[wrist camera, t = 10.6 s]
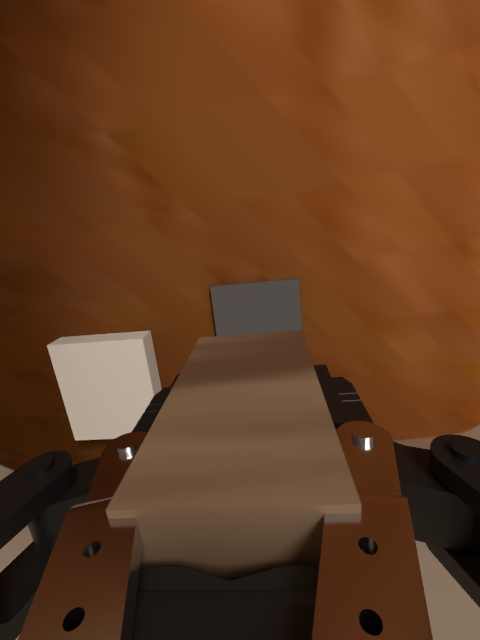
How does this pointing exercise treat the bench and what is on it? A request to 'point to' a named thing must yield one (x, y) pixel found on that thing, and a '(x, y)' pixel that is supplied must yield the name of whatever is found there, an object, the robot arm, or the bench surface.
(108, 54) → the bench surface
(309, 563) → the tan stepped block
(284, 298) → the mat
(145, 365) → the slab tile
